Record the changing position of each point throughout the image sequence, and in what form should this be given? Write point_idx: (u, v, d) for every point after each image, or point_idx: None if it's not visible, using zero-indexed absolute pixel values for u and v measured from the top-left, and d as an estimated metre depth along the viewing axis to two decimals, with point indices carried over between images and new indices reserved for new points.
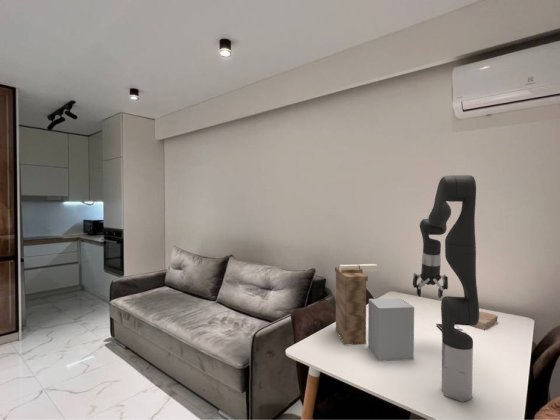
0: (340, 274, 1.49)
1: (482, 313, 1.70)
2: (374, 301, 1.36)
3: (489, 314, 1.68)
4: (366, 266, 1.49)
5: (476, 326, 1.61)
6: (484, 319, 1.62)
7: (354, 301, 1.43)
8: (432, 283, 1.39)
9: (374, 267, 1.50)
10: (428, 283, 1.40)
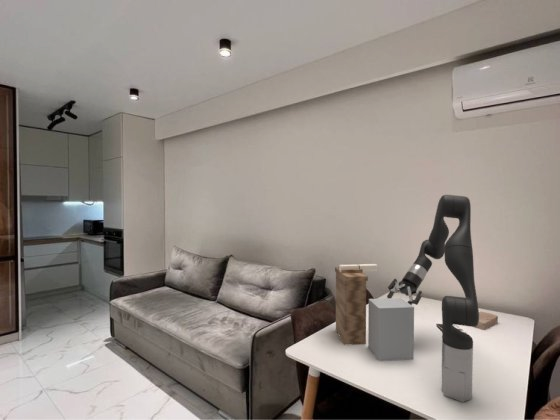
0: (340, 274, 1.49)
1: (482, 313, 1.70)
2: (374, 301, 1.36)
3: (489, 314, 1.68)
4: (366, 266, 1.49)
5: (475, 326, 1.61)
6: (484, 319, 1.62)
7: (354, 301, 1.43)
8: (405, 291, 1.42)
9: (374, 267, 1.50)
10: (402, 290, 1.43)
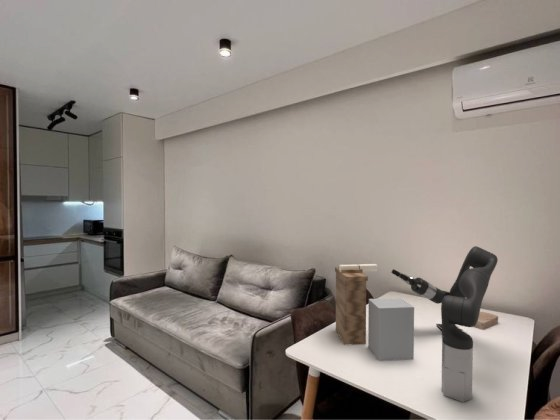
0: (340, 274, 1.49)
1: (483, 313, 1.70)
2: (374, 301, 1.36)
3: (490, 314, 1.68)
4: (366, 266, 1.49)
5: (475, 326, 1.61)
6: (483, 319, 1.62)
7: (354, 301, 1.43)
8: None
9: (374, 267, 1.50)
10: (407, 277, 1.54)
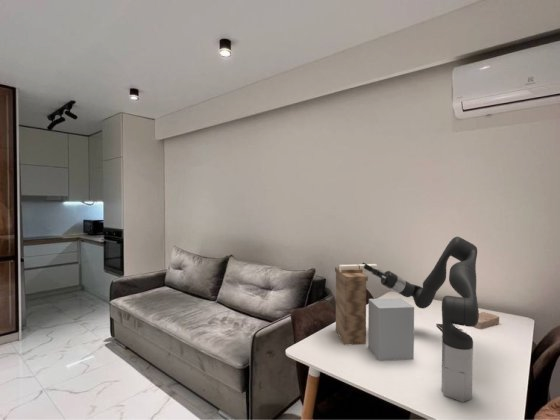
0: (340, 274, 1.49)
1: (484, 313, 1.70)
2: (374, 301, 1.36)
3: (491, 315, 1.67)
4: None
5: None
6: (482, 319, 1.63)
7: (354, 301, 1.43)
8: (378, 271, 1.51)
9: (374, 267, 1.50)
10: None
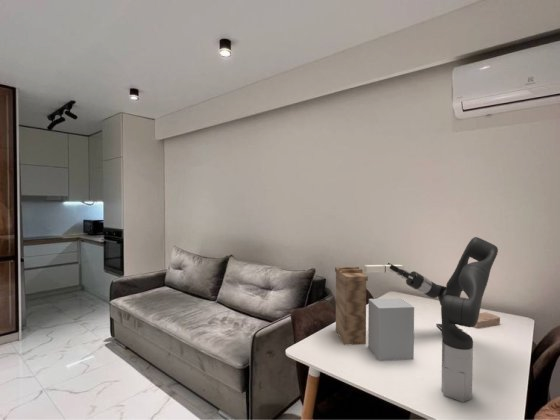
0: (340, 274, 1.49)
1: (485, 314, 1.69)
2: (374, 301, 1.36)
3: (491, 315, 1.67)
4: None
5: None
6: (480, 318, 1.63)
7: (354, 301, 1.43)
8: (404, 271, 1.49)
9: (400, 268, 1.48)
10: None
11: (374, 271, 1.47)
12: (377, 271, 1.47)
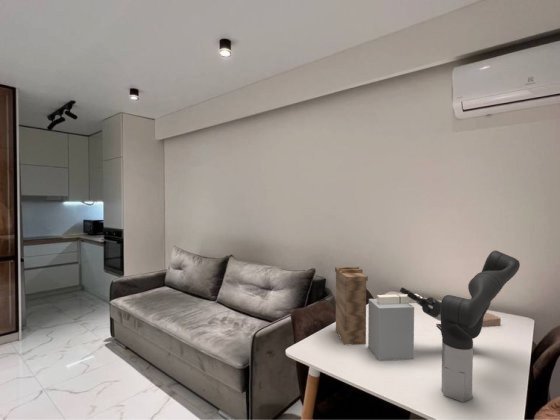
0: (340, 274, 1.49)
1: (486, 314, 1.69)
2: (374, 301, 1.36)
3: (492, 316, 1.66)
4: (407, 297, 1.34)
5: None
6: None
7: (354, 301, 1.43)
8: None
9: None
10: (418, 296, 1.36)
11: (388, 302, 1.33)
12: (391, 302, 1.33)
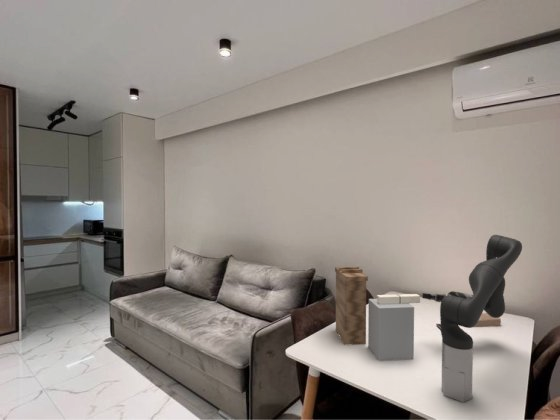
0: (340, 274, 1.49)
1: (486, 314, 1.68)
2: (374, 301, 1.36)
3: None
4: (407, 297, 1.34)
5: None
6: None
7: (354, 301, 1.43)
8: None
9: (416, 298, 1.34)
10: None
11: (388, 302, 1.33)
12: (391, 302, 1.33)
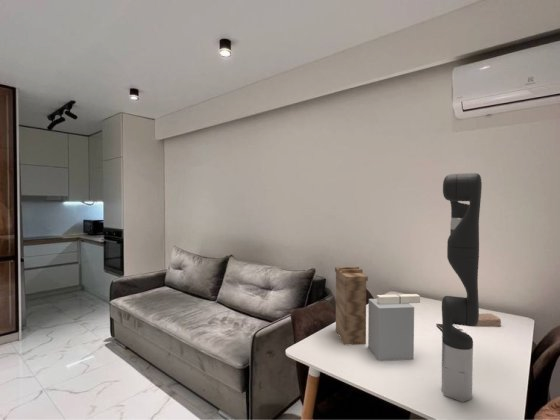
0: (340, 274, 1.49)
1: (487, 314, 1.68)
2: (374, 301, 1.36)
3: (493, 316, 1.65)
4: (407, 297, 1.34)
5: None
6: None
7: (354, 301, 1.43)
8: None
9: (416, 298, 1.34)
10: None
11: (388, 302, 1.33)
12: (391, 302, 1.33)
